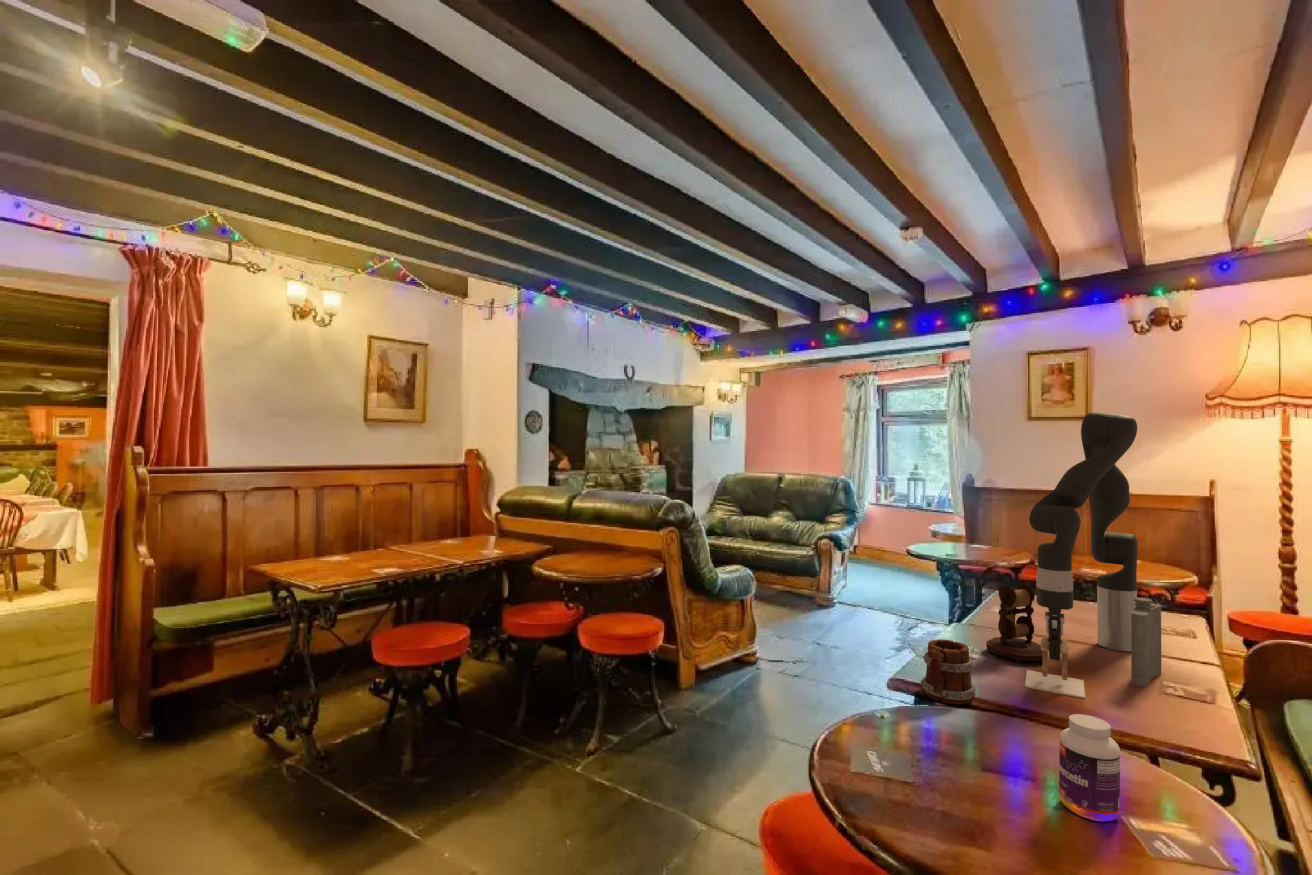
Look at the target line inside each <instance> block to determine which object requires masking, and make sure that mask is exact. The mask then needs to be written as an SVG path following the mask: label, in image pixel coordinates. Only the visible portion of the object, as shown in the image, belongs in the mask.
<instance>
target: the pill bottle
mask: <svg viewBox="0 0 1312 875" xmlns="http://www.w3.org/2000/svg"><path fill="white" fill-rule="evenodd" d="M1111 729H1112V728H1111V725H1110V723H1108V722H1107V721H1105V720H1103V718H1099V717H1095V716H1092V715H1088V714H1082V713H1081V714H1079V713H1074V714H1071V715H1069V717H1068V727H1066V728H1065V729H1063V730H1062V731H1061V732H1060V734H1059V758H1058V759H1059V763H1058V764H1059V766H1058V769H1059V773H1058V774H1059V775H1058V777H1059V779H1058V780H1059V782H1058V785H1059V786H1058V793H1059V792H1060V795H1061V796H1062V797H1063V798H1064V799H1065V800H1066V801H1068V802H1069V803H1071V804H1073V805H1075V806H1077V807H1078V808H1082V809H1084V810H1086V811H1088V812H1093V813H1098V814H1104V815H1106V814H1107V815H1109V814H1114V813H1117V812H1119V811H1120V812H1121V748H1120V746H1119V744H1118V743H1117V742H1116V741H1115V740H1114V739H1113V738H1112V737H1110V736H1111V734H1112V733H1111V732H1112V730H1111Z"/></svg>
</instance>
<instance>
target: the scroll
mask: <svg viewBox="0 0 1312 875" xmlns="http://www.w3.org/2000/svg"><path fill="white" fill-rule="evenodd" d="M1035 595H1036V594H1035V592H1034V589H1033V587H1032V586H1031V585H1030V584H1028V583H1026V582H1025V583H1024V582H1023V583H1020V584H1018V585H1017V587H1016V589H1014V588H1013V587H1012V586H1010V585H1008V584H1003V585H1001V586H1000V587H999V589H998V598H999V601H1000V605H999V607H1000V609H999V610H998V615H999V618H998V622H997V623H998V624H997V626H998V631H999V634H1000V636H997V637H993V638H990V639H988V640H987V641H986V644H985V646H986V650H987V652H988V653H991V652H992V653H994V654H997V655H999V656H1002V657H1006V658H1010V659H1015V661H1016V663H1017V664H1018V665H1019V664H1021V661H1022V660H1023V661H1040V660H1042V650H1041V644H1039V643H1037V642H1034V641H1033V638H1034V637H1033V634H1034V633H1035V625H1034V623H1033V618H1032V615H1033V613H1034V612H1035V609H1034V607H1033V602H1034V600H1035V597H1036V596H1035ZM1019 614H1026V615H1027V616H1025V615H1021V616H1019V617H1017V619H1016V615H1019ZM1024 637H1025V639H1024Z"/></svg>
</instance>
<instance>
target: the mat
mask: <svg viewBox="0 0 1312 875" xmlns="http://www.w3.org/2000/svg"><path fill="white" fill-rule="evenodd" d="M1024 688H1026V689H1027V688H1028V689H1033V690H1039V691H1042V692H1043V691H1044V692H1048V693H1054V694H1058V695H1059V694H1060V695H1064V696H1068V697H1075V698H1080V699H1084V700H1086V693H1085V690H1086V689H1085V682H1084V679H1078V678H1072V677H1069V676H1067V680H1062V675H1056V674H1051V673H1047V677H1045V676H1042V672H1041V671H1035V670H1029V669H1027V670H1026V675H1025V683H1024Z"/></svg>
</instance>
